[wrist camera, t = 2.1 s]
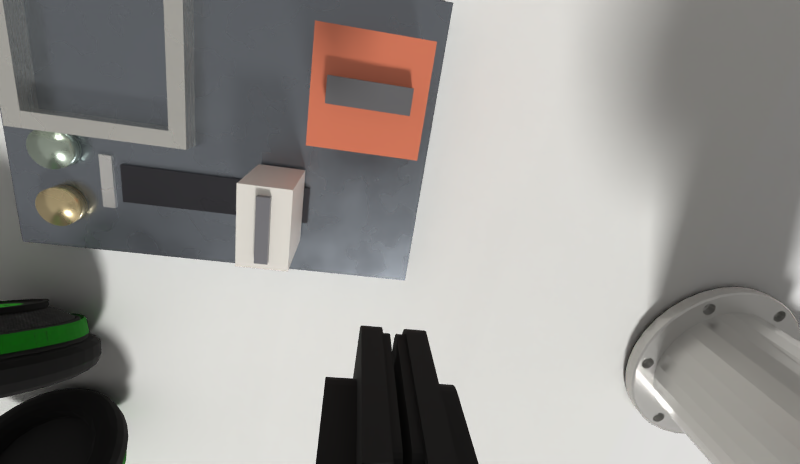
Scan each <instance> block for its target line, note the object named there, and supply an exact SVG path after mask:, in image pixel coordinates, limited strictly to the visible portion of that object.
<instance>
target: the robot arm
mask: <svg viewBox="0 0 800 464" xmlns="http://www.w3.org/2000/svg"><path fill="white" fill-rule="evenodd" d="M625 384H626V388H627V393H628V396H629V398H630V400H631V402H632V403H633V405H634V406H635V408H636V409H637V410H638V411H639V412H640V414H641V415H642V416H643V417H644V418H645V419H646V420H647V421H648V422H649V423H651V424H652V425H654V426H656V427H658V428H660V429H663V430H666V431H670V432H674V433H684V434H686V435H687V436H688V437H689V439H690V440H691V441H692V442H693V443H694V444H695V445H696V446H697V448H698V449H699V450H700V451H701V452H702V453H703V454H704V456H705V457H706V458H707V459H708V460H709V461H710V462H711V464H800V329H799V326H798V323H797V320H796V318H795V317H794V315H793V314H792V312H791V311H790V310H789V309H788V308H787V307H786V306H785V305H784V304H782V303H781V302H780V301H778V300H776V299H774V298H773V297H771V296H769V295H767V294H765V293H763V292H760V291H757V290H754V289H751V288H743V287H725V288H717V289H713V290H709V291H704V292H701V293H699V294H696V295H694V296H691V297H689V298H686V299H684V300H683V301H681V302H679V303H678V304H676V305H674V306H672V307H671V308H669V309H668V310H667V311H665V312H664V313H663V314H662V315H660V316H659V317H658V318H656V319H655V320H654V322H653V323H652V324H651V325H650V326H649V327H648V328H647V329H646V330H645V331H644V332H643V334H642V335H641V337H640V338H639V340H638V341H637V343H636V344H635V346H634V348H633V350H632V352H631V355H630V357H629V360H628V364H627V368H626V380H625ZM316 464H478V461H477V457H476V454H475V451H474V447H473V444H472V441H471V437H470V434H469V431H468V427H467V424H466V420H465V417H464V414H463V410H462V407H461V404H460V400H459V397H458V394H457V391H456V388H455V387H454V386H453V385H446V384H439V382H438V378H437V374H436V370H435V366H434V362H433V358H432V354H431V350H430V346H429V342H428V338H427V334H426V331H422V330H409V329H404V330H403V334H402V335H400V334H396V335H395V338H394V344H393V349H392V348H391V339H390V334H387V333H383V330H382V327H372V326H361V327H360V333H359V340H358V347H357V354H356V361H355V368H354V376H353V379H350V378H334V377H326V379H325V387H324V396H323V405H322V414H321V423H320V432H319V440H318V449H317V458H316Z"/></svg>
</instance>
